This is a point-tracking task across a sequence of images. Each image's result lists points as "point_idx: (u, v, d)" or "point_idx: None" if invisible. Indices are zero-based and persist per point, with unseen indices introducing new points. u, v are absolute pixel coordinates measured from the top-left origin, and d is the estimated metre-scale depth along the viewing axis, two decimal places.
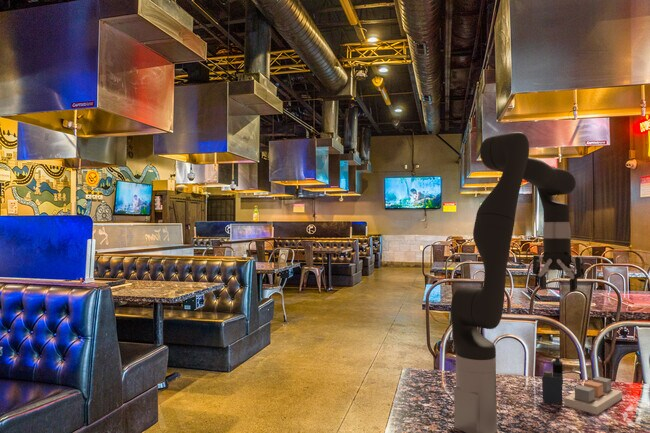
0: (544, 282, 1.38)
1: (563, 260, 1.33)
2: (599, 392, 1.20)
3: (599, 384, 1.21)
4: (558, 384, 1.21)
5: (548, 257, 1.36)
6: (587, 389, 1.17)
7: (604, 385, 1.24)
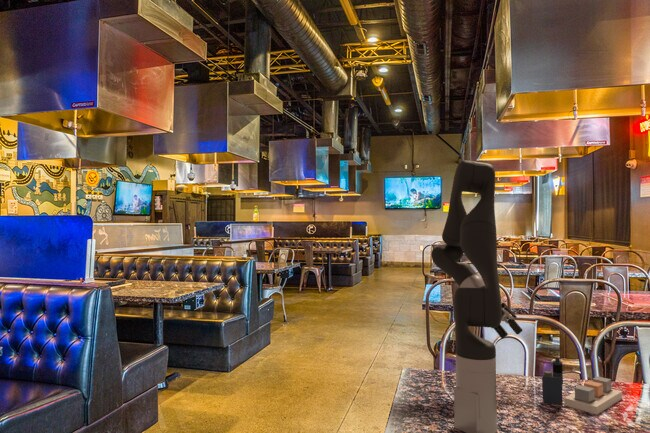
0: None
1: None
2: (599, 392, 1.20)
3: (599, 384, 1.21)
4: (558, 384, 1.21)
5: None
6: (587, 389, 1.17)
7: (604, 385, 1.24)
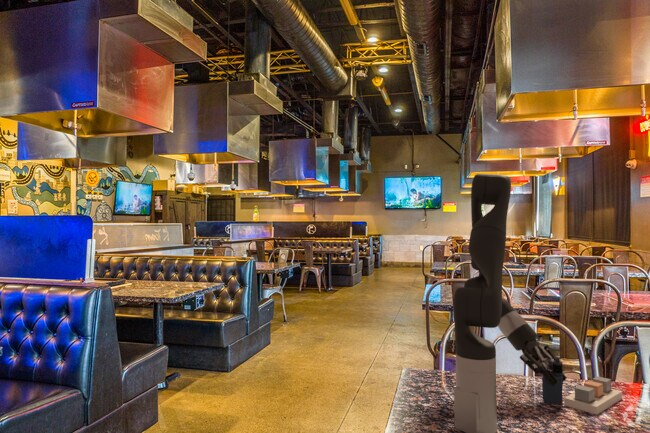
0: None
1: None
2: (599, 392, 1.20)
3: (599, 384, 1.21)
4: (558, 384, 1.21)
5: (529, 346, 1.25)
6: (587, 389, 1.17)
7: (604, 385, 1.24)
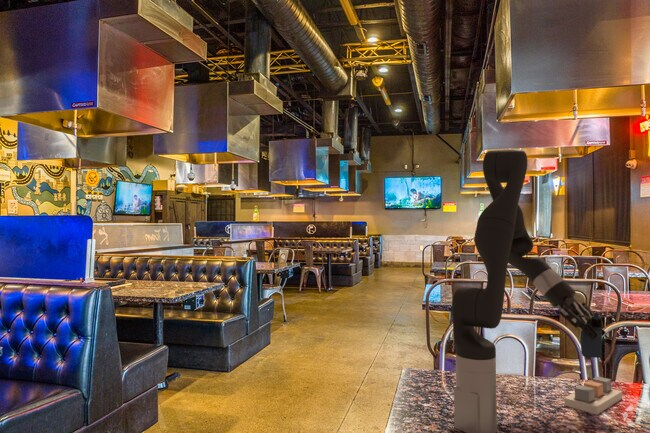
0: None
1: None
2: (599, 392, 1.20)
3: (599, 384, 1.21)
4: (597, 338, 1.21)
5: (568, 302, 1.26)
6: (587, 389, 1.17)
7: (604, 385, 1.24)
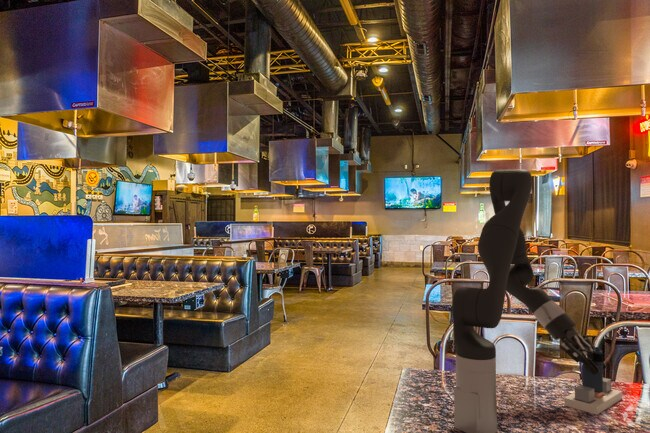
0: None
1: None
2: None
3: (599, 392, 1.21)
4: (598, 373, 1.21)
5: (569, 335, 1.25)
6: (587, 389, 1.17)
7: (604, 385, 1.24)
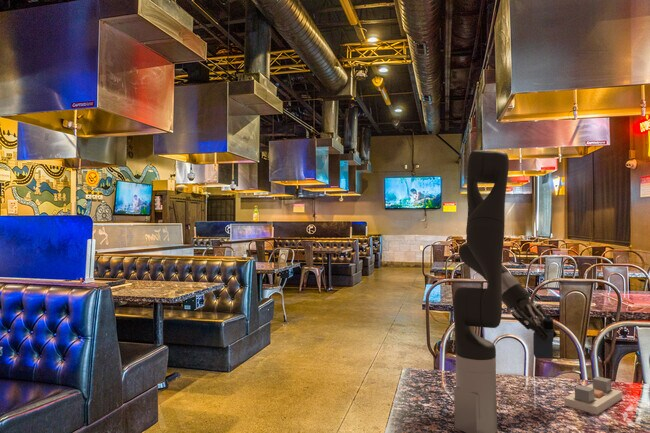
0: None
1: None
2: None
3: (599, 392, 1.21)
4: (549, 340, 1.25)
5: (521, 304, 1.29)
6: (587, 389, 1.17)
7: (604, 385, 1.24)
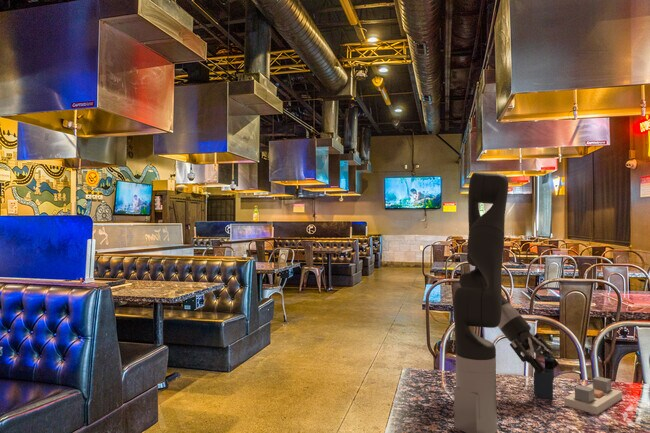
0: None
1: None
2: None
3: (599, 392, 1.21)
4: (549, 380, 1.24)
5: (523, 338, 1.28)
6: (587, 389, 1.17)
7: (604, 385, 1.24)
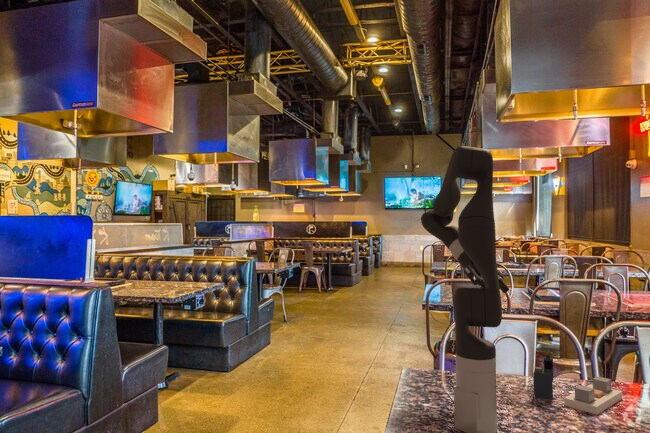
0: None
1: None
2: None
3: (599, 392, 1.21)
4: (548, 380, 1.24)
5: None
6: (587, 389, 1.17)
7: (604, 385, 1.24)
